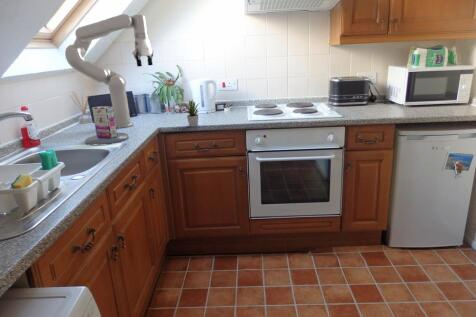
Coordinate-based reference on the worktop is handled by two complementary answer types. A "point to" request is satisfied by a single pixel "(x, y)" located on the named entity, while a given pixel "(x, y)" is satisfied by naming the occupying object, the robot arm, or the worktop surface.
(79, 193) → the worktop surface
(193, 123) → the house plant
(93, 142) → the plate
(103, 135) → the candy bar box
